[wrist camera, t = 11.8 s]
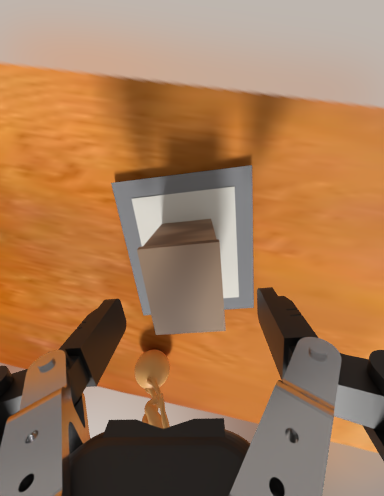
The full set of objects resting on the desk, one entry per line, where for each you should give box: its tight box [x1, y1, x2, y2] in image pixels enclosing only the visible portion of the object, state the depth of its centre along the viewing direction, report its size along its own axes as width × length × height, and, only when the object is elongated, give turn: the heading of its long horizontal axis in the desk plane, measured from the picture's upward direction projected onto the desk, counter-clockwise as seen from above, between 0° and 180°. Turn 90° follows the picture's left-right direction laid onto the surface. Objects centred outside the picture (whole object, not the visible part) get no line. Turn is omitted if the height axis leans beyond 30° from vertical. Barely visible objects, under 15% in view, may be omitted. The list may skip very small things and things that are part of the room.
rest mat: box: [111, 165, 254, 315], centre depth 19 cm, size 12×14×1 cm
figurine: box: [135, 349, 170, 428], centre depth 19 cm, size 8×6×12 cm
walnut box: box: [137, 219, 226, 335], centre depth 15 cm, size 5×6×7 cm
